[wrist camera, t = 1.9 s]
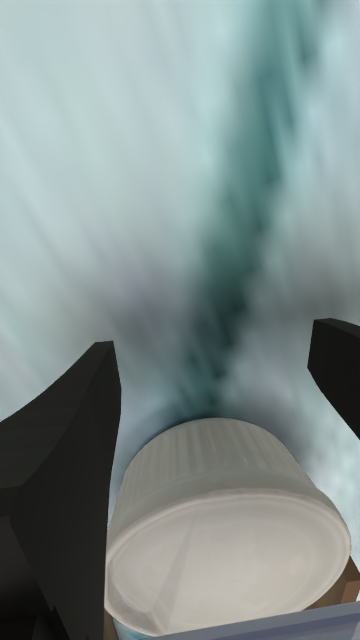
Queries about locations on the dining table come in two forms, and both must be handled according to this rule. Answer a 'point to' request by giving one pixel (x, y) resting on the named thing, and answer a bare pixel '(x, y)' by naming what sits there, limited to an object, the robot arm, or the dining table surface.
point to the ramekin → (218, 531)
